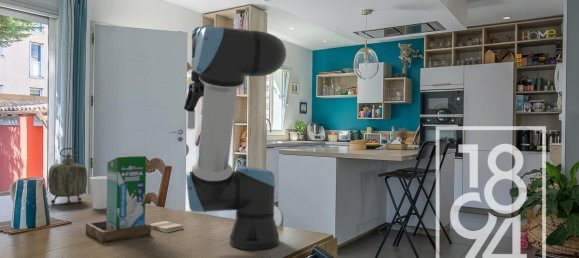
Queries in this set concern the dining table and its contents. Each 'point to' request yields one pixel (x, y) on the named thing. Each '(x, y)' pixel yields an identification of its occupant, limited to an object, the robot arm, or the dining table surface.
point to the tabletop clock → (67, 178)
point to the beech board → (166, 226)
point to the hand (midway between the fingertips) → (200, 129)
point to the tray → (115, 232)
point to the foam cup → (99, 192)
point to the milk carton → (126, 192)
